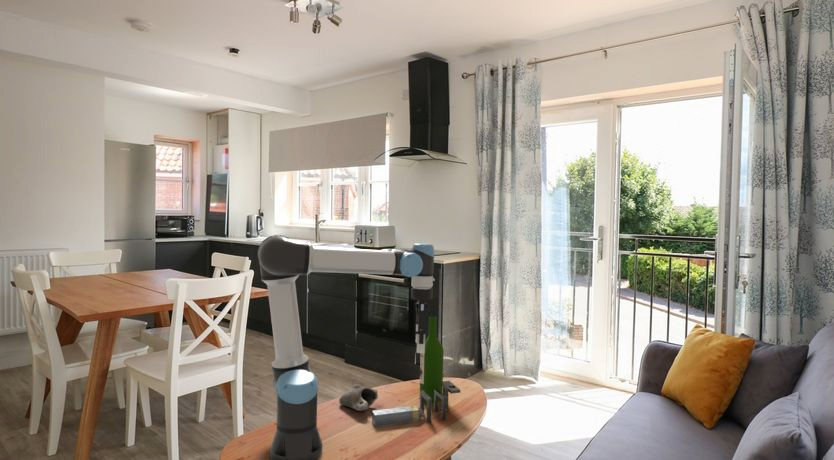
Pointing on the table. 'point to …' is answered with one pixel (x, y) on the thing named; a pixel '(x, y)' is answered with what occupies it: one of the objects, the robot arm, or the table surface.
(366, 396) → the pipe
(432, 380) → the wine bottle
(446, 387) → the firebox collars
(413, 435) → the table surface
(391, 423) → the grey sharpening stone
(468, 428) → the table surface
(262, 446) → the table surface
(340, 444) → the table surface
